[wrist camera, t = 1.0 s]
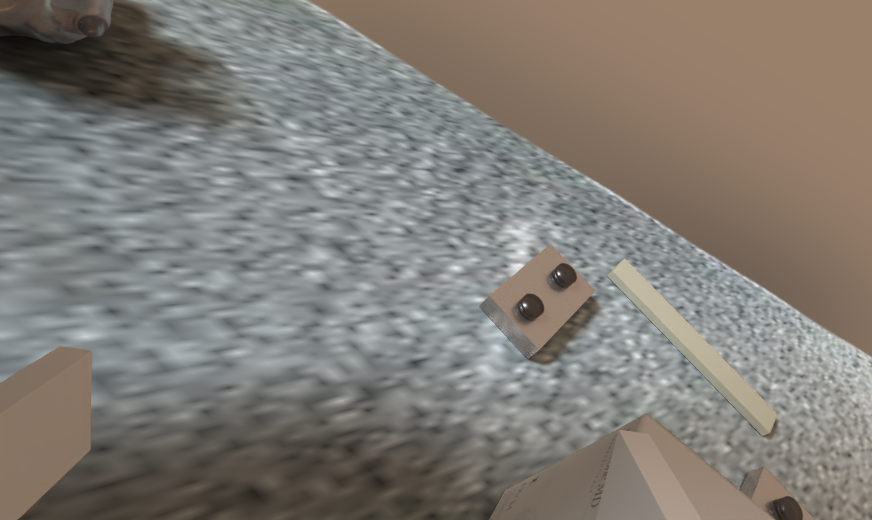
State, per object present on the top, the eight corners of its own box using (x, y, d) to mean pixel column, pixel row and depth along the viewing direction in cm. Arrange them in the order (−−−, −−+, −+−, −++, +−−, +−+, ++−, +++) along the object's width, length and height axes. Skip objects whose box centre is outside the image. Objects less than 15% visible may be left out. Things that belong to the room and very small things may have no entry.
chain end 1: (479, 306, 34) (494, 290, 33) (540, 254, 39) (556, 238, 37) (527, 359, 33) (545, 345, 32) (583, 300, 38) (601, 286, 37)
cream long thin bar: (606, 275, 40) (612, 271, 40) (619, 263, 42) (624, 258, 41) (762, 436, 38) (770, 433, 38) (770, 417, 40) (777, 414, 39)
